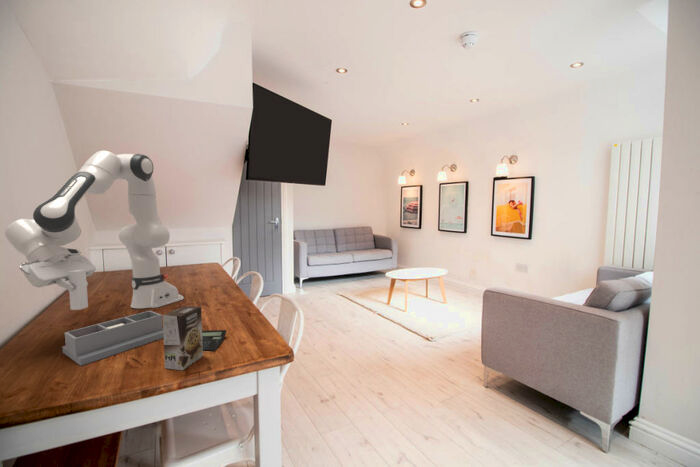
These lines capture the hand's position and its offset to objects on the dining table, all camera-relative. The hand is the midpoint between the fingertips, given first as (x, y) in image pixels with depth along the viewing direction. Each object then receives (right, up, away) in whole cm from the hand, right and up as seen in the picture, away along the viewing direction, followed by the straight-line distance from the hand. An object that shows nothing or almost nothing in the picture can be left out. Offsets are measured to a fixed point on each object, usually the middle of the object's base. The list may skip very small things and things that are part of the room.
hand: (79, 287), depth 106 cm
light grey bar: (-1, -7, 0) cm, 7 cm away
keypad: (+12, -20, +1) cm, 23 cm away
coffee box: (+42, -21, -11) cm, 48 cm away
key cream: (+12, -15, +1) cm, 20 cm away
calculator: (+43, -20, +1) cm, 47 cm away
